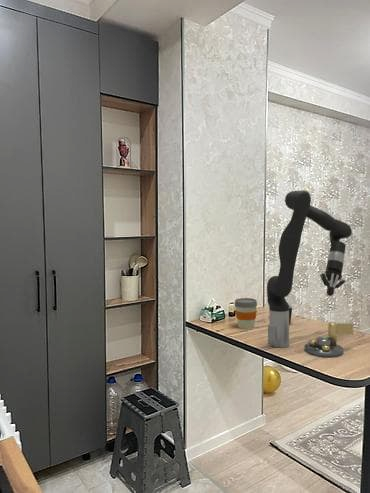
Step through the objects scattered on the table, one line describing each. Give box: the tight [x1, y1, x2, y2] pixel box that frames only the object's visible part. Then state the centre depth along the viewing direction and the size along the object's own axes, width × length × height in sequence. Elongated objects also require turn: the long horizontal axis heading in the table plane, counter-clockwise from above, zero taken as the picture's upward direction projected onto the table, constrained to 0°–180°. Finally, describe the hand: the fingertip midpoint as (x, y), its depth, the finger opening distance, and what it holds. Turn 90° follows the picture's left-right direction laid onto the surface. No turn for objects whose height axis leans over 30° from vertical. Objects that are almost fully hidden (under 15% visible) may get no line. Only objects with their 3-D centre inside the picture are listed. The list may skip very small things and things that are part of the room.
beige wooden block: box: [327, 321, 354, 347], centre depth 180 cm, size 11×4×10 cm, turn 86°
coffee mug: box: [289, 305, 293, 326], centre depth 226 cm, size 12×9×10 cm
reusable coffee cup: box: [234, 297, 258, 330], centre depth 221 cm, size 13×13×15 cm
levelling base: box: [303, 335, 345, 358], centre depth 179 cm, size 17×17×6 cm
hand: (329, 295), depth 189 cm, fingers closed
